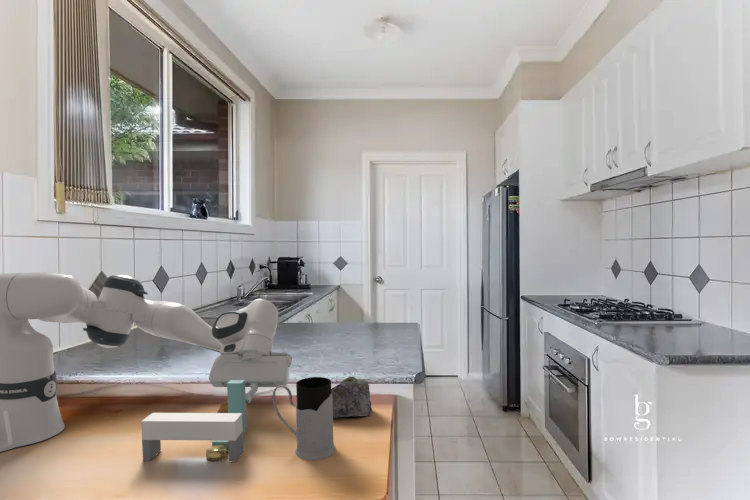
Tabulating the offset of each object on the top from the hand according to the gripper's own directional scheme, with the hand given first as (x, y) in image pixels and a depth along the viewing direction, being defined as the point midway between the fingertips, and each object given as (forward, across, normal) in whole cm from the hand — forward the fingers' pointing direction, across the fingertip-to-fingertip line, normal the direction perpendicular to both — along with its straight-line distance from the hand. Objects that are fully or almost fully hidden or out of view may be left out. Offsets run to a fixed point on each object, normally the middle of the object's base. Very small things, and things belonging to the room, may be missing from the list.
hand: (243, 401), depth 118 cm
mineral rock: (0, -25, -8) cm, 26 cm away
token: (+16, 0, +8) cm, 18 cm away
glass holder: (+14, -18, +6) cm, 23 cm away
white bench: (+16, +5, +8) cm, 19 cm away
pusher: (+10, 0, +3) cm, 11 cm away
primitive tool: (+1, +7, -7) cm, 10 cm away
